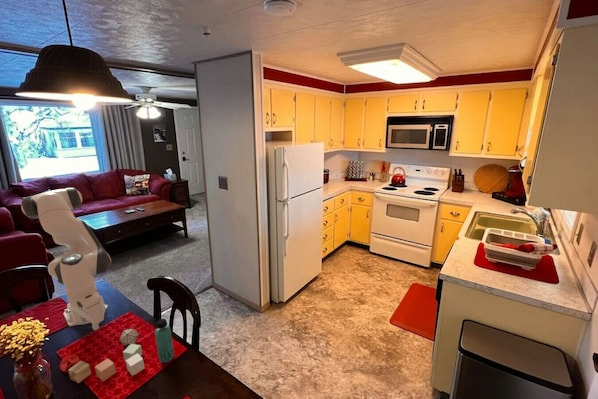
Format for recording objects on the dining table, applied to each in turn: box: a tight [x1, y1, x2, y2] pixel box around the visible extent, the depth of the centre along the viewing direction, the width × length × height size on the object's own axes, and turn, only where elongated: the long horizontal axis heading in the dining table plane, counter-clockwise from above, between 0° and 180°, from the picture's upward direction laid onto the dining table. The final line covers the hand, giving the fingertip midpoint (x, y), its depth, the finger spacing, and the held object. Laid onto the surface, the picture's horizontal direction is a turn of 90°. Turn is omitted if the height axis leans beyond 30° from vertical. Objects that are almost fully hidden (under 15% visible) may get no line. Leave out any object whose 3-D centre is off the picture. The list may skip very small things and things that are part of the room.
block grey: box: [125, 353, 146, 377], centre depth 125 cm, size 5×5×5 cm
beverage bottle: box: [154, 318, 175, 363], centre depth 127 cm, size 6×7×20 cm
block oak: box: [67, 360, 92, 384], centre depth 121 cm, size 5×5×5 cm
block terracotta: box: [94, 358, 117, 382], centre depth 122 cm, size 5×5×5 cm
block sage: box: [122, 344, 143, 362], centre depth 131 cm, size 5×5×5 cm
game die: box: [117, 326, 141, 348], centre depth 138 cm, size 9×8×10 cm
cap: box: [59, 353, 80, 373], centre depth 126 cm, size 8×6×6 cm
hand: (90, 325), depth 118 cm, fingers open, 8 cm apart
